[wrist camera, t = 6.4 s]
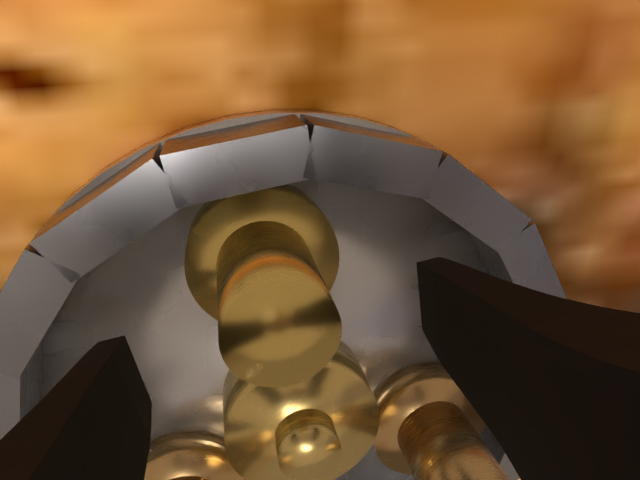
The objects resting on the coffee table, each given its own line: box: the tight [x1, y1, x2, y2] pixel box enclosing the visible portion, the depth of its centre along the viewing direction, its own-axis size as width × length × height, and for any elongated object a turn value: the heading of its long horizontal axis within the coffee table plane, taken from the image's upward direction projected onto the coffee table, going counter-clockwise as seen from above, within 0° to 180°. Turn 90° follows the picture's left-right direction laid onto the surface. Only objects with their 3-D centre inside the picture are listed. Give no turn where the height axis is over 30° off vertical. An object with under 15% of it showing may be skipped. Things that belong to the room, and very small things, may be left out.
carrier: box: [0, 110, 567, 480], centre depth 16 cm, size 20×20×6 cm
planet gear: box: [184, 184, 342, 387], centre depth 13 cm, size 5×5×5 cm
